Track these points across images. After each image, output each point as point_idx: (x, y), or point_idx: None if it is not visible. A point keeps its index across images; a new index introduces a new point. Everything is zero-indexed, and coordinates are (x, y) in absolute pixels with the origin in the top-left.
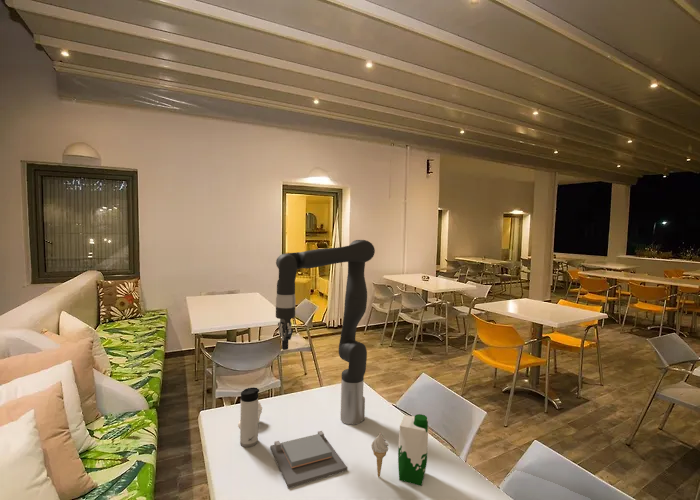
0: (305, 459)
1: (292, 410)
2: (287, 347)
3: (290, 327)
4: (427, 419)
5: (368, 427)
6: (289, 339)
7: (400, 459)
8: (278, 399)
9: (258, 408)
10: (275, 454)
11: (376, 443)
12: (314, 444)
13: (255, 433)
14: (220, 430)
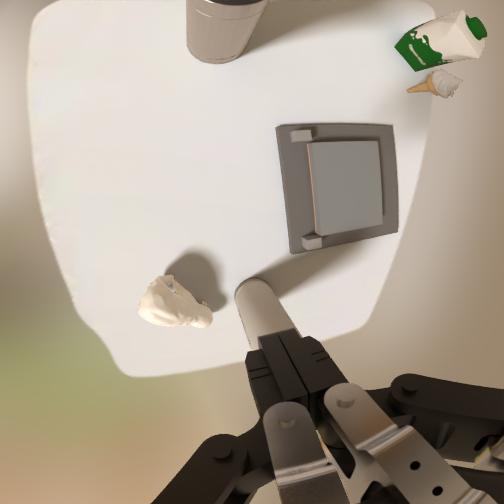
0: (381, 197)
1: (121, 183)
2: (318, 343)
3: (470, 492)
4: (462, 10)
5: (266, 22)
6: (409, 382)
7: (434, 63)
8: (57, 220)
9: (173, 293)
10: (324, 245)
11: (453, 91)
12: (348, 166)
13: (273, 293)
14: (191, 349)
